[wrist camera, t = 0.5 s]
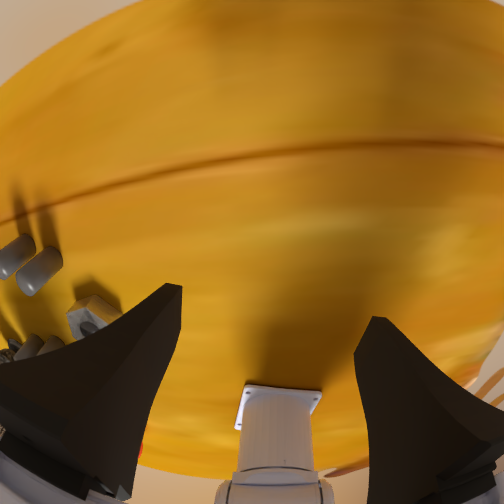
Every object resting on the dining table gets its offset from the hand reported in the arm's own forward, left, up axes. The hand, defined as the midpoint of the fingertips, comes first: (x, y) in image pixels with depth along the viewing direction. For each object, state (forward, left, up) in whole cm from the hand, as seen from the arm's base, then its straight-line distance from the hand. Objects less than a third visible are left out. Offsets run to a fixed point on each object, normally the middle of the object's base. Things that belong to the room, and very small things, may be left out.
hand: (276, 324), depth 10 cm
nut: (-12, +14, -10) cm, 21 cm away
